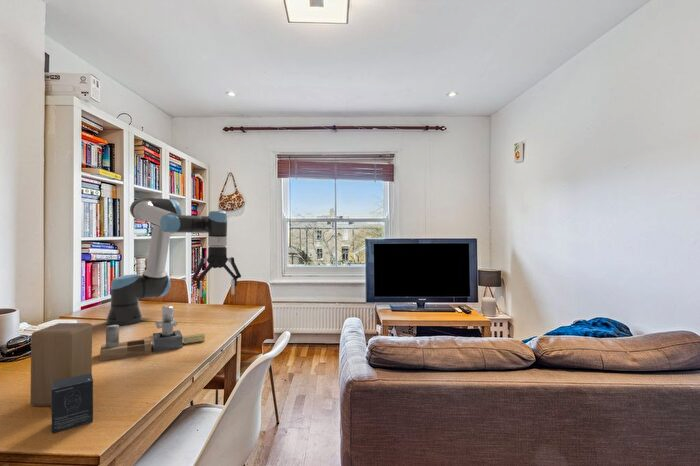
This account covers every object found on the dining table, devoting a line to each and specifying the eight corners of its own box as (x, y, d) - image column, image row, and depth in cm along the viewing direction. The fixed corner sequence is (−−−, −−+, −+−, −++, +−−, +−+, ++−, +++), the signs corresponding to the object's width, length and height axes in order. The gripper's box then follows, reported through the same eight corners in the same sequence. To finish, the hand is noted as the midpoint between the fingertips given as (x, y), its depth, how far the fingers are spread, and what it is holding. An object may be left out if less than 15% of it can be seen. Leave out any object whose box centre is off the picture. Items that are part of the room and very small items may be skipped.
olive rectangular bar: (183, 341, 146) (183, 335, 146) (203, 338, 150) (203, 333, 150) (184, 343, 143) (184, 337, 143) (204, 340, 148) (204, 334, 148)
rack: (101, 353, 131) (101, 324, 131) (150, 346, 140) (150, 319, 139) (100, 360, 124) (100, 330, 124) (151, 353, 133) (151, 324, 133)
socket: (152, 344, 143) (152, 333, 143) (179, 340, 148) (179, 330, 148) (154, 351, 134) (154, 340, 134) (182, 347, 140) (182, 336, 140)
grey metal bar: (161, 345, 142) (161, 306, 142) (172, 343, 144) (172, 305, 144) (162, 348, 138) (162, 308, 138) (173, 346, 141) (173, 307, 140)
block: (56, 390, 101) (57, 322, 101) (93, 389, 102) (94, 322, 102) (28, 407, 91) (29, 332, 91) (68, 406, 92) (69, 332, 92)
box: (91, 413, 89) (92, 372, 89) (93, 422, 85) (93, 379, 85) (51, 423, 84) (52, 380, 84) (51, 434, 80) (51, 388, 80)
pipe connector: (167, 338, 150) (168, 315, 150) (148, 337, 152) (148, 314, 152) (183, 332, 160) (183, 310, 160) (164, 330, 162) (164, 309, 162)
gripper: (187, 247, 141) (187, 299, 141) (248, 246, 155) (247, 294, 155) (185, 246, 148) (184, 296, 148) (243, 245, 161) (243, 291, 161)
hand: (217, 295), depth 151 cm, fingers open, 13 cm apart
